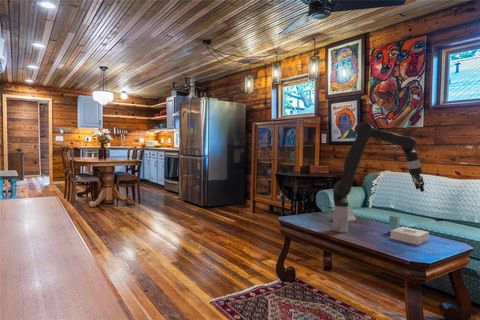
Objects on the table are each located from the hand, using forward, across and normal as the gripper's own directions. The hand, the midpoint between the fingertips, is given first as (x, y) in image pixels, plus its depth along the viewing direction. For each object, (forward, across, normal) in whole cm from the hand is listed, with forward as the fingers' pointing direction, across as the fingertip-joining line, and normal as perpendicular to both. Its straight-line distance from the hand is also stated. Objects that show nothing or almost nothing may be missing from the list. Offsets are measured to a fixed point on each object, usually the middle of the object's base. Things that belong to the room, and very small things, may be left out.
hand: (420, 190), depth 208 cm
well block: (+24, +20, -18) cm, 36 cm away
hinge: (+17, -22, -51) cm, 58 cm away
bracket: (+23, +6, -23) cm, 33 cm away
